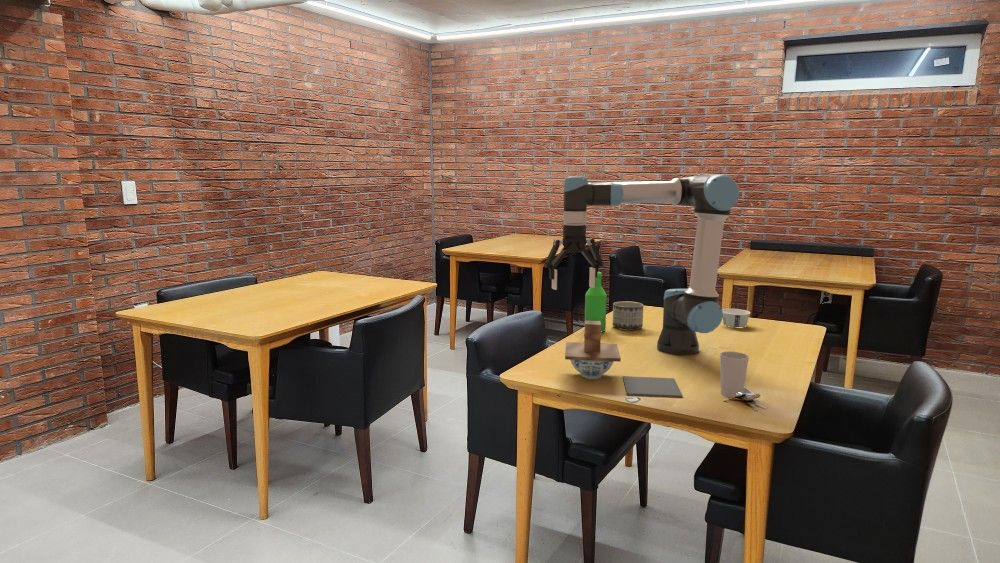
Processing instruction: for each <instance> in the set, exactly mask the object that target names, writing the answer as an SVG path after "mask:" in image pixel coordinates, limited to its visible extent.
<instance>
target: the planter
mask: <svg viewBox="0 0 1000 563" xmlns="http://www.w3.org/2000/svg"><path fill="white" fill-rule="evenodd" d="M643 319H644V304H643V303H641V302H636V301H628V300H627V301H616V302H613V304H612V326H613V327H614V328H616V329H617V328H618V329H619V328H621V329H620V330H622V329H635V330H638V329H641V328H642V327H643V326H644V323H643V321H644V320H643Z"/></svg>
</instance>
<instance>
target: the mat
mask: <svg viewBox="0 0 1000 563" xmlns="http://www.w3.org/2000/svg"><path fill="white" fill-rule="evenodd" d="M622 380H623V385H624V389H625V392H626V396H635V397H637V396H638V397H639V396H640V397H662V398H664V397H665V398H683V397H684V395H683V393H682V391H681V389H680V387H679V385H678V383H677V381H676V379H675V378H674V377H655V376H654V377H653V376H652V377H651V376H650V377H649V376H631V375H629V376H626V375H623V376H622Z"/></svg>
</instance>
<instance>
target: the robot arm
mask: <svg viewBox="0 0 1000 563" xmlns="http://www.w3.org/2000/svg"><path fill="white" fill-rule="evenodd" d="M563 184H564V185H563V190H562V192H563V218H562V222H563V226H562V240H561V239H557V238H555V239H553V243H552V247H551V249H550V251H549V253H548V256H547V257H546V259H545V262H544V264H543V267H544V268H545V269H548V270H549V274H548V276H549V277H548V278H549V279H550V280H551V289H552V290H555V291H557V290H558V269H557V267H558V265H560V263H561V261H562V260H563V259H564V258H565V257H566V256H567V255H568V254H573V253H581V254H582V255H583V257H584V258H585V260H587V262H588V263H589V265H591V267H589V280H588V284H589V285H588V287H589V288H590V287H592V288H595V277H597V272H598V269H599V268H600V267H602V266H604V263H603V260H602V258H601V255H600V253H599V251H598V248H597V247H596V246H597V245H596V240H595V238H591V237H589V238H587V225H586V223H587V209H588V208H587V207H588V206H589V207H592V206H595V207H597V206H598V207H599V206H600V207H613V206H614V207H615V206H619V205H621V204H651V203H652V204H655V203H656V204H658V203H661V204H663V203H667V204H668V203H671V205H672V206H687V207H692V208H693V207H694V211H693V215H695V216H696V218H697V223H696V232H695V240H694V247H693V256H692V263H691V272H690V277H689V280H690V281H689V287H687V288H670V289H666V290H665V291H664V294H663V309H662V310H663V313H662V314H663V315H662V329H661V331H660V334H659V337H658V339H657V340H656V341H657V342H656V348H657V350H658V351H660V352H663V353H667V354H673V355H694V354H697V353H699V350H700V344H699V340H698V337H697V333H700V334H708V333H712V332H713V331H715V330H716V329H717V328H718V327H719V326H720V325H721V323H722V322H723V311H722V310H723V309H722V308H721V306H720V304H719V298H720V295H719V293H718V292H717V290H716V288H717V287H716V285H717V279H718V271H719V270H718V269H719V263H720V256H721V255H720V254H721V247H722V240H723V232H724V225H725V221H726V220H727V219H728V218H729V217H730V216H731V209H733V207H734V206H735V205H737V203H738V201H739V197H740V189H739V185H738V184H737V182H736V181H735V179H734V178H732V177H730V176H728V175H725V174H719V173H718V174H698V175H692V176H686V177H674V178H672V179H671V180H660V181H658V180H657V181H655V180H654V181H649V180H647V181H610V182H609V181H607V182H606V181H605V182H603V181H602V182H601V181H600V182H597V181H596V182H592V181H590V182H589V181H588V177H587V176H567V177H565V178H564V183H563ZM586 245H587V246H588V247H589V249H590V251H591V254H592V256H593V257H592V256H591V254H590V253H589V252H588V250H587V249H586V247H585V246H586ZM561 246H563V247H562V248H561V250H560V252H559V253H557V252H558V251H559V249H560V247H561ZM557 254H558V255H557ZM556 255H557V256H556Z"/></svg>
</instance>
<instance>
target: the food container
mask: <svg viewBox="0 0 1000 563" xmlns="http://www.w3.org/2000/svg"><path fill="white" fill-rule="evenodd" d="M722 311H723V318H722V323H723V326H724V325H726V326H730V327H745V326H746V327H747V325H748V322H749V317H750V314H751V312H750V311H749V310H746V309H741V308H740V309H739V308H723V309H722Z"/></svg>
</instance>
